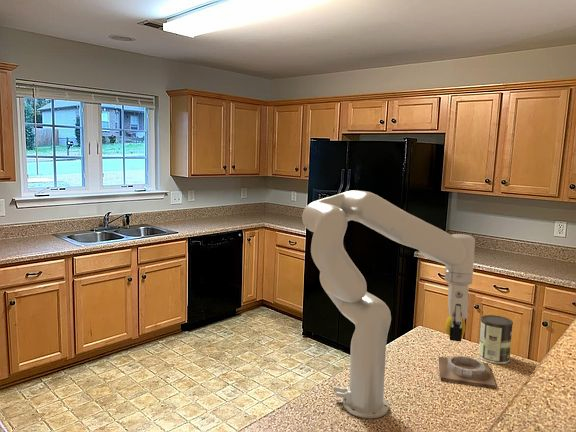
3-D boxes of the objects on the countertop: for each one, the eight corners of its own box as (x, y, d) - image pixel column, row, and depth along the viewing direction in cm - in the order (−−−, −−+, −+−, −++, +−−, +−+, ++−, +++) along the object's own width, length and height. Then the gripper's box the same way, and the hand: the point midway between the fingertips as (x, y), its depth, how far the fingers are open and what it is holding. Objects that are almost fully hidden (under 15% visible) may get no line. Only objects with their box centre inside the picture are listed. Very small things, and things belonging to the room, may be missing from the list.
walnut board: (440, 380, 140) (440, 377, 140) (438, 359, 156) (438, 356, 156) (495, 388, 136) (495, 385, 136) (487, 366, 151) (488, 363, 151)
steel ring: (448, 375, 142) (449, 367, 142) (446, 360, 153) (447, 353, 152) (485, 380, 139) (486, 372, 139) (481, 365, 150) (481, 358, 149)
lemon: (466, 344, 128) (467, 317, 127) (445, 342, 129) (447, 315, 128) (462, 337, 133) (464, 311, 133) (443, 335, 135) (445, 309, 134)
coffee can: (504, 353, 162) (507, 315, 161) (513, 365, 152) (517, 326, 151) (474, 350, 164) (477, 313, 162) (482, 362, 154) (485, 323, 152)
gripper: (475, 285, 120) (471, 349, 122) (469, 271, 136) (465, 328, 138) (446, 283, 122) (442, 346, 124) (443, 269, 138) (440, 325, 141)
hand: (454, 336), depth 131 cm, fingers closed on lemon, 5 cm apart
